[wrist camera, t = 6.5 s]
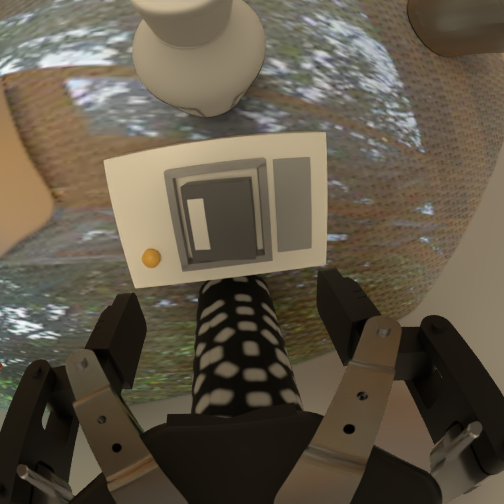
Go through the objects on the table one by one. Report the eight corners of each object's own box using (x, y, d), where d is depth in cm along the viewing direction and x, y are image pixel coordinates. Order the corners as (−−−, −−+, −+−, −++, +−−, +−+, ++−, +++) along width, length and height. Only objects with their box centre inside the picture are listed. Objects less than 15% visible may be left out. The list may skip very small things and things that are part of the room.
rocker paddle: (251, 176, 20) (249, 181, 18) (257, 250, 23) (255, 259, 21) (186, 182, 21) (179, 187, 19) (198, 252, 23) (192, 261, 22)
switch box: (307, 130, 25) (331, 132, 19) (310, 243, 30) (330, 270, 24) (123, 154, 24) (97, 162, 18) (146, 263, 29) (132, 295, 23)
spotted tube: (262, 328, 34) (296, 477, 16) (196, 324, 33) (191, 481, 15) (276, 271, 31) (335, 435, 13) (200, 264, 30) (189, 441, 12)
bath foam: (235, 42, 20) (272, -102, 2) (253, 106, 23) (346, 54, 5) (163, 63, 20) (57, -42, 2) (181, 126, 23) (79, 128, 5)
